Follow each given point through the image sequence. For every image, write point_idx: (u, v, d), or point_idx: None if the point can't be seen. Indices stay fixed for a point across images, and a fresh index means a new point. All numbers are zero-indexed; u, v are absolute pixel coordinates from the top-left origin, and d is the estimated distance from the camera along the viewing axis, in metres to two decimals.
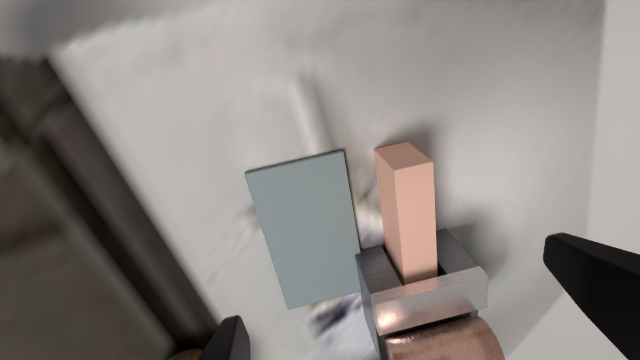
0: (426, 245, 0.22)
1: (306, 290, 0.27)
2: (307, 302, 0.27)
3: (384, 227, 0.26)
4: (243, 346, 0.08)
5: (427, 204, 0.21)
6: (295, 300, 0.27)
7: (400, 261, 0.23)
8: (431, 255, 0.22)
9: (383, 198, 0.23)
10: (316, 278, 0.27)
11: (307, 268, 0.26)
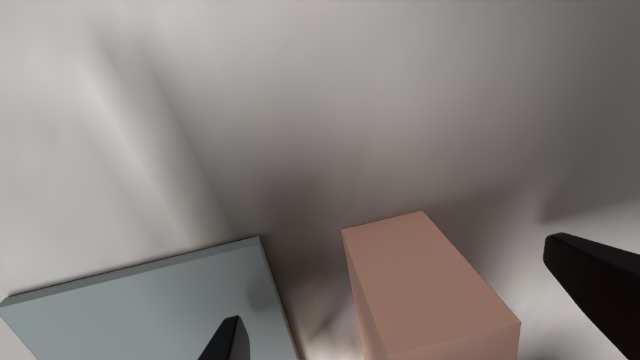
0: None
1: None
2: None
3: None
4: (243, 346, 0.08)
5: None
6: None
7: None
8: None
9: (365, 344, 0.10)
10: None
11: None
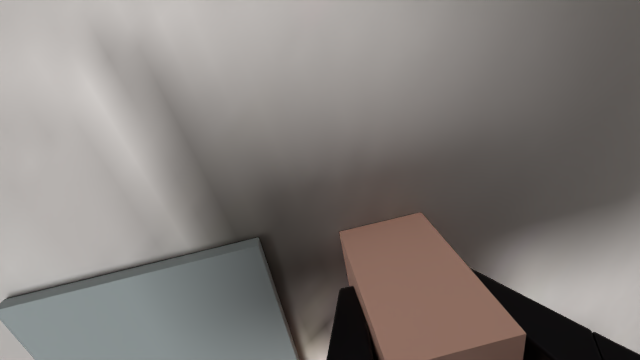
0: None
1: None
2: None
3: None
4: None
5: None
6: None
7: None
8: None
9: None
10: None
11: None
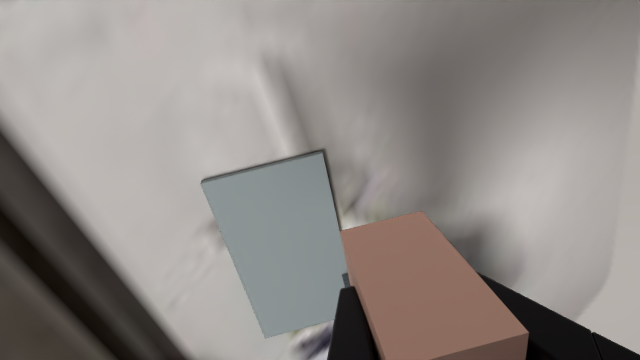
0: None
1: (285, 316, 0.23)
2: (288, 329, 0.23)
3: None
4: None
5: None
6: (273, 327, 0.23)
7: None
8: None
9: None
10: (297, 302, 0.22)
11: (285, 291, 0.22)
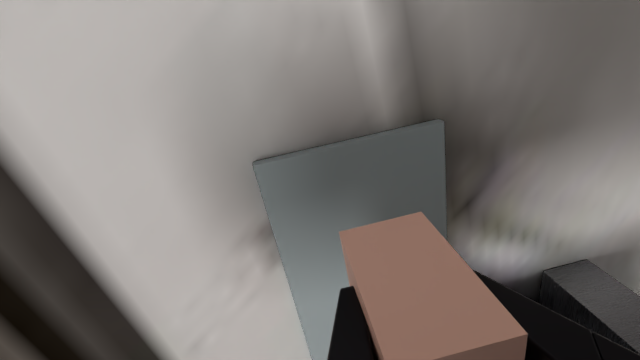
0: None
1: None
2: None
3: None
4: None
5: None
6: None
7: None
8: None
9: None
10: None
11: None
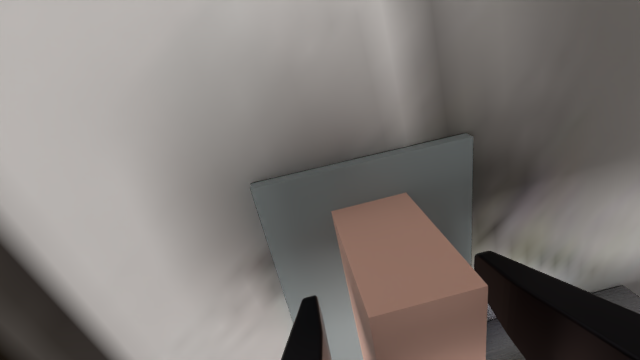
0: None
1: None
2: None
3: None
4: (323, 325, 0.08)
5: None
6: None
7: None
8: None
9: (357, 320, 0.11)
10: None
11: None
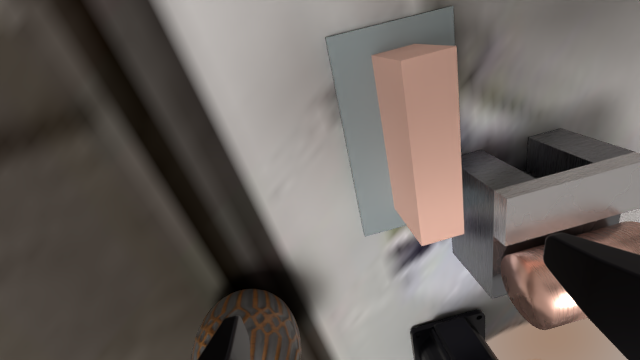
0: (449, 177, 0.16)
1: (389, 210, 0.22)
2: (389, 226, 0.22)
3: (390, 167, 0.20)
4: (243, 346, 0.08)
5: (449, 115, 0.15)
6: (375, 223, 0.22)
7: (413, 203, 0.17)
8: (455, 192, 0.17)
9: (387, 122, 0.18)
10: None
11: None
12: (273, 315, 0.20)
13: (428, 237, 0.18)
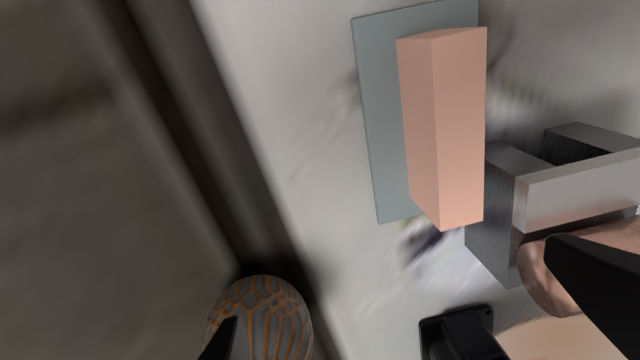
0: (471, 161, 0.16)
1: (404, 198, 0.22)
2: (403, 215, 0.22)
3: (409, 153, 0.20)
4: (243, 346, 0.08)
5: (475, 97, 0.15)
6: (389, 211, 0.22)
7: (434, 187, 0.17)
8: (477, 177, 0.17)
9: (409, 107, 0.18)
10: None
11: None
12: (287, 299, 0.20)
13: (447, 223, 0.18)
